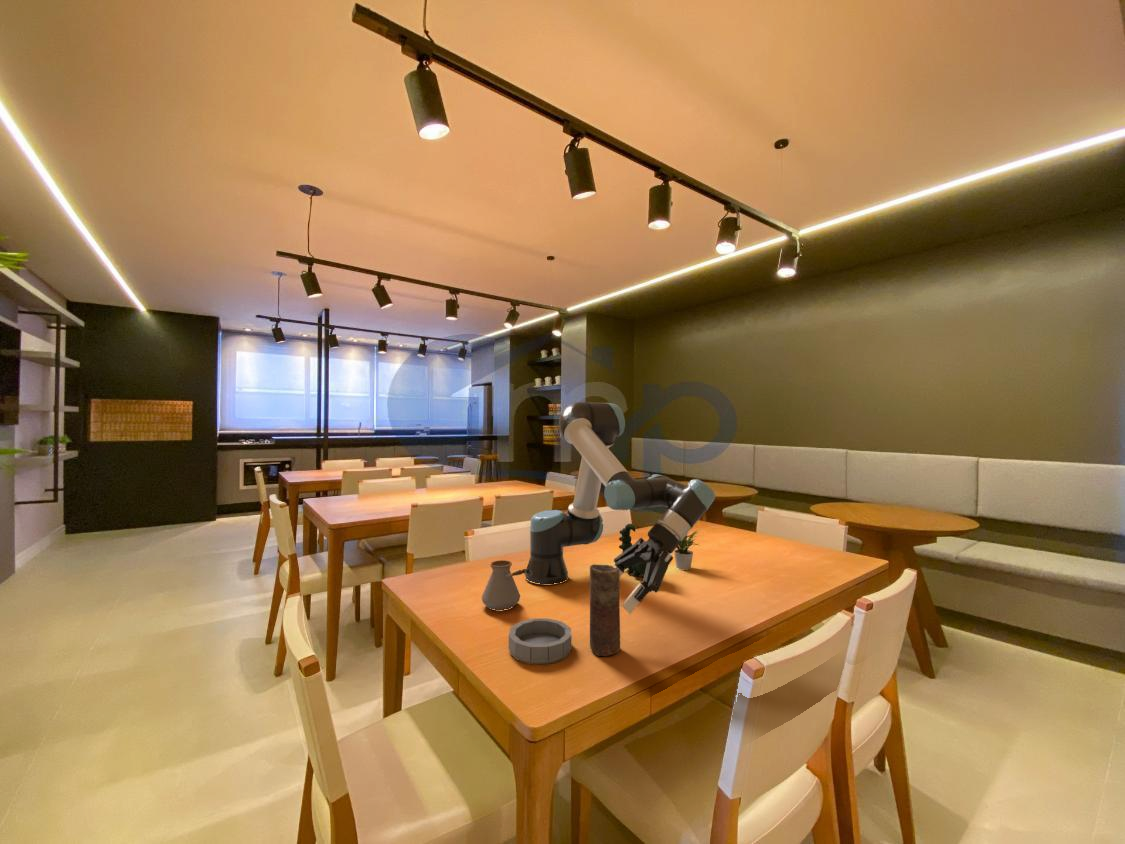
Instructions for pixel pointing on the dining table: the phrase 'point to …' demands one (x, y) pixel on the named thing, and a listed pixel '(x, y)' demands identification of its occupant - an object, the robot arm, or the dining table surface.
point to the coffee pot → (502, 586)
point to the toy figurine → (626, 543)
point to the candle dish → (540, 641)
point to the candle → (604, 610)
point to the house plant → (685, 552)
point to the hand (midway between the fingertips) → (613, 599)
